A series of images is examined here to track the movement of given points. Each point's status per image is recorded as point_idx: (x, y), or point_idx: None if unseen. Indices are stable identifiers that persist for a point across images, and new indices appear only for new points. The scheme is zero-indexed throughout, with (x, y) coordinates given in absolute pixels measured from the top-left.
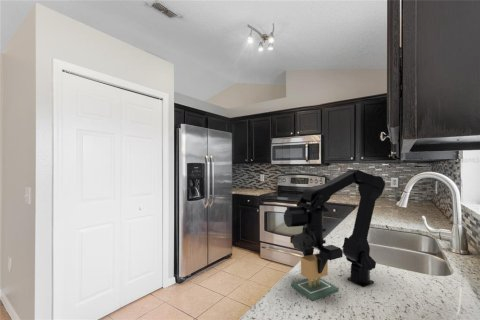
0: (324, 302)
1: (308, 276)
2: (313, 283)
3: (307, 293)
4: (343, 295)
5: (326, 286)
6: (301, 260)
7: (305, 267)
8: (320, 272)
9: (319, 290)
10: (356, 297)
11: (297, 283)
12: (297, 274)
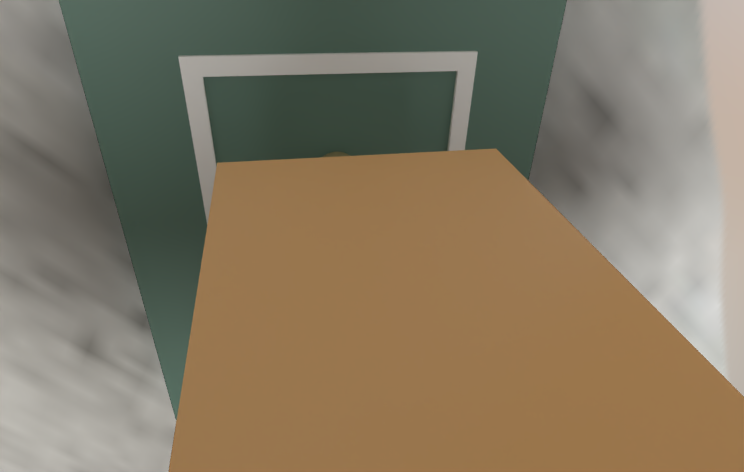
0: (16, 127)
1: (281, 188)
2: None
3: (203, 6)
4: (107, 389)
5: None
6: (701, 388)
7: (421, 286)
8: None
9: (207, 223)
10: (40, 455)
11: (502, 78)
12: (653, 253)
